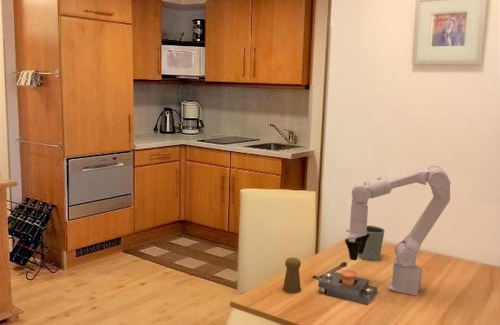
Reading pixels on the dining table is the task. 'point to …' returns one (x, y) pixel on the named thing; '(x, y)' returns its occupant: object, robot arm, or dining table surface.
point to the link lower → (363, 298)
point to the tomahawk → (331, 270)
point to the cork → (292, 276)
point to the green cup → (373, 244)
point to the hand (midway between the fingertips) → (356, 256)
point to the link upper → (335, 283)
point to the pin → (348, 277)
